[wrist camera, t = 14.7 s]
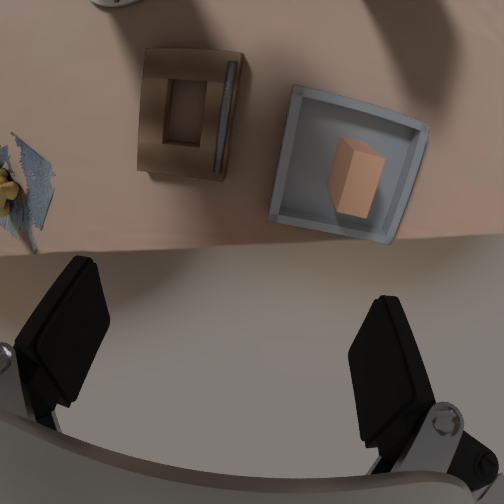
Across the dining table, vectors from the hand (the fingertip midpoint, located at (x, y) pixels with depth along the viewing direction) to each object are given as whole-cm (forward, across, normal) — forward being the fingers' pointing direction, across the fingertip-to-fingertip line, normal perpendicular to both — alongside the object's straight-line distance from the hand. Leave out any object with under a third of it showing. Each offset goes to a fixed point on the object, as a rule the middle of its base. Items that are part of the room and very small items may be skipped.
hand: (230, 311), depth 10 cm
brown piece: (+26, +8, -2) cm, 27 cm away
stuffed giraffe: (+27, +38, +10) cm, 48 cm away
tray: (+26, -10, +2) cm, 28 cm away
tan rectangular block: (+25, -10, +2) cm, 27 cm away
